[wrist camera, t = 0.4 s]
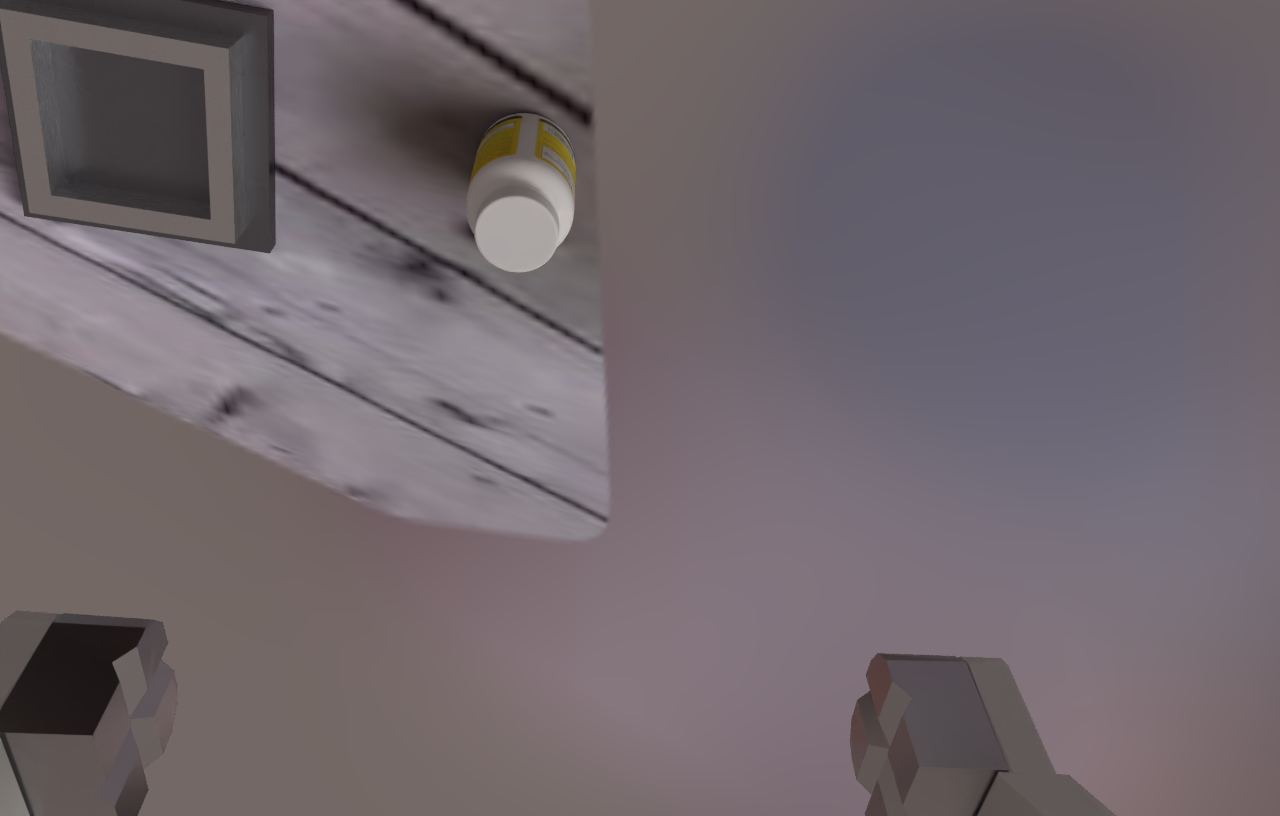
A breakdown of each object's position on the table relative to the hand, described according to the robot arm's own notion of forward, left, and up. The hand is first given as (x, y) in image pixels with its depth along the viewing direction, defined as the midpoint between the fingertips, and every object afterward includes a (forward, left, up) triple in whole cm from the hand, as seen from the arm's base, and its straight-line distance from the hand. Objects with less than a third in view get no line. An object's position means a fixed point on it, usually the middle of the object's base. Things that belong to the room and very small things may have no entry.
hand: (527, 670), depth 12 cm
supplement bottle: (+11, -1, -46) cm, 48 cm away
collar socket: (+12, -21, -46) cm, 52 cm away
